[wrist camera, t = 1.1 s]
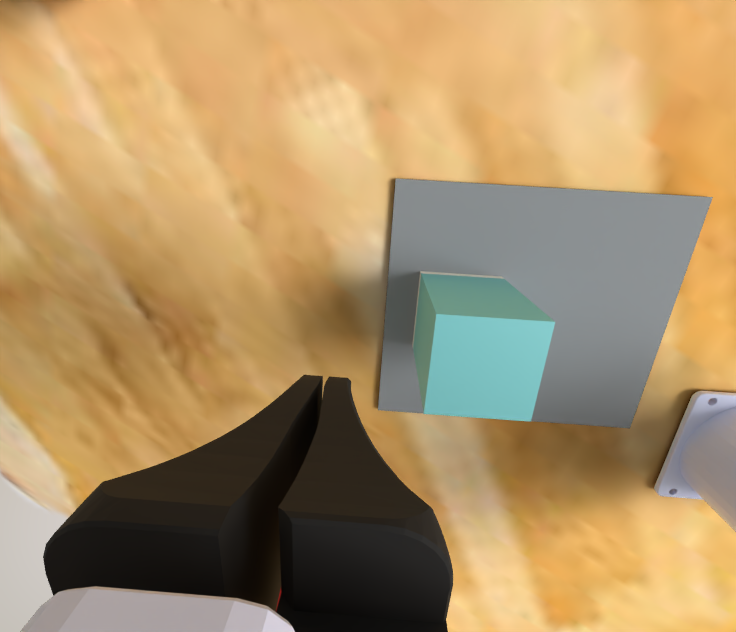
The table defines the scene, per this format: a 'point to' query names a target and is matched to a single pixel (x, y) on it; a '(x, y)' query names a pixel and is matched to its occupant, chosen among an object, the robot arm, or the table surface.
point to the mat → (548, 282)
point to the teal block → (478, 347)
